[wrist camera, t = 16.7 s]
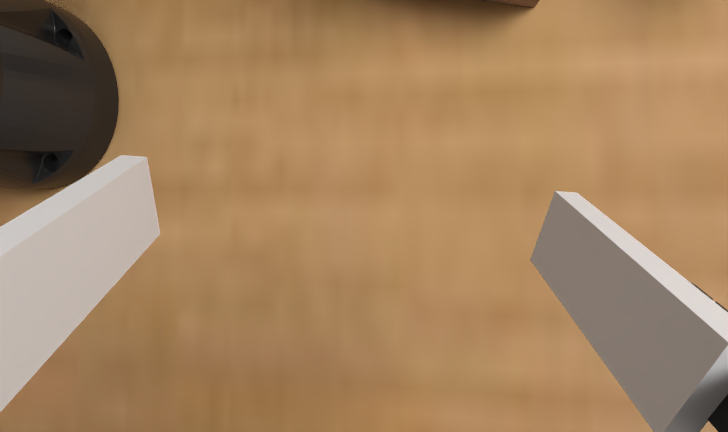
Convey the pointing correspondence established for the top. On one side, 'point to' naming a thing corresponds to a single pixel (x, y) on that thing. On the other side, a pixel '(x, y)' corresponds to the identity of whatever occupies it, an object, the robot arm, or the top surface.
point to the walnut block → (518, 2)
